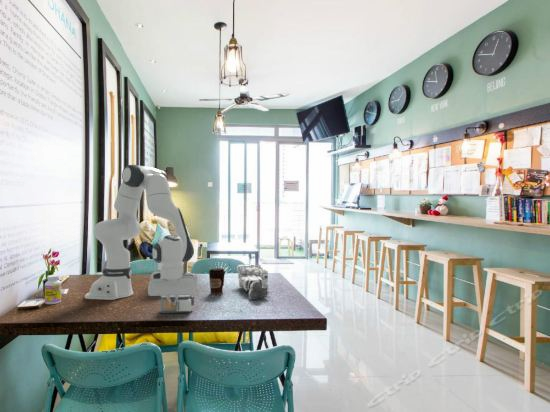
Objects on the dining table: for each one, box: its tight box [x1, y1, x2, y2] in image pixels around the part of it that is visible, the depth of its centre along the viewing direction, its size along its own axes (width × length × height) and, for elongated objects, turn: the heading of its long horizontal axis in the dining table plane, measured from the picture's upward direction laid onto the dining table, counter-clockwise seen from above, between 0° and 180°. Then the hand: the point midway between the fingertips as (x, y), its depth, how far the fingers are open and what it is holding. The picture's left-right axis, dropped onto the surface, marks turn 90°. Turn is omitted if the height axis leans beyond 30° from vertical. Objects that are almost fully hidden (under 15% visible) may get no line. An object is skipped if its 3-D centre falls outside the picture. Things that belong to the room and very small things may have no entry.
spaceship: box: [236, 263, 270, 301], centre depth 193 cm, size 16×35×12 cm, turn 16°
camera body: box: [159, 295, 195, 314], centre depth 160 cm, size 14×8×7 cm, turn 95°
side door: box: [177, 299, 192, 312], centre depth 156 cm, size 6×2×5 cm, turn 95°
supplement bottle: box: [44, 274, 62, 305], centre depth 170 cm, size 7×7×13 cm
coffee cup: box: [208, 267, 226, 295], centre depth 190 cm, size 9×8×13 cm
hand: (172, 305), depth 155 cm, fingers closed
